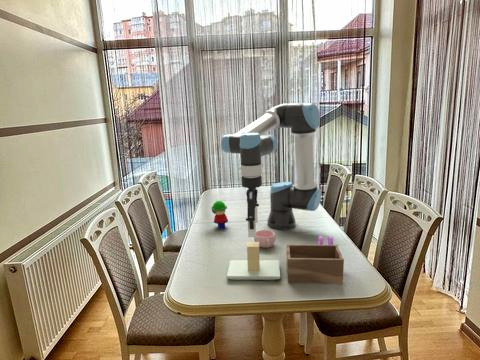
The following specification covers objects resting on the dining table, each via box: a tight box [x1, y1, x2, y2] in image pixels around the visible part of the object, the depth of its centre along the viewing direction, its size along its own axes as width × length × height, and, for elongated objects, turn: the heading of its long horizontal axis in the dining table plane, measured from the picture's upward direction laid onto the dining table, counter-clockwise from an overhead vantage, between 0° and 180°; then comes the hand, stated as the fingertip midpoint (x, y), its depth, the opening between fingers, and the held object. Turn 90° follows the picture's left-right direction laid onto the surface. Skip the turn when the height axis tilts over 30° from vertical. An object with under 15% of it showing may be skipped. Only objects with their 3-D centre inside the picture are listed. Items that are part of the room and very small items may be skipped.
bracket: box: [317, 235, 334, 245], centre depth 145 cm, size 13×6×7 cm, turn 178°
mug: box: [253, 229, 277, 249], centre depth 156 cm, size 12×10×6 cm
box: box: [286, 243, 345, 285], centre depth 129 cm, size 13×20×10 cm, turn 84°
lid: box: [226, 241, 281, 281], centre depth 132 cm, size 13×20×12 cm, turn 86°
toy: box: [211, 200, 229, 230], centre depth 180 cm, size 9×9×15 cm
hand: (253, 229), depth 129 cm, fingers open, 13 cm apart
